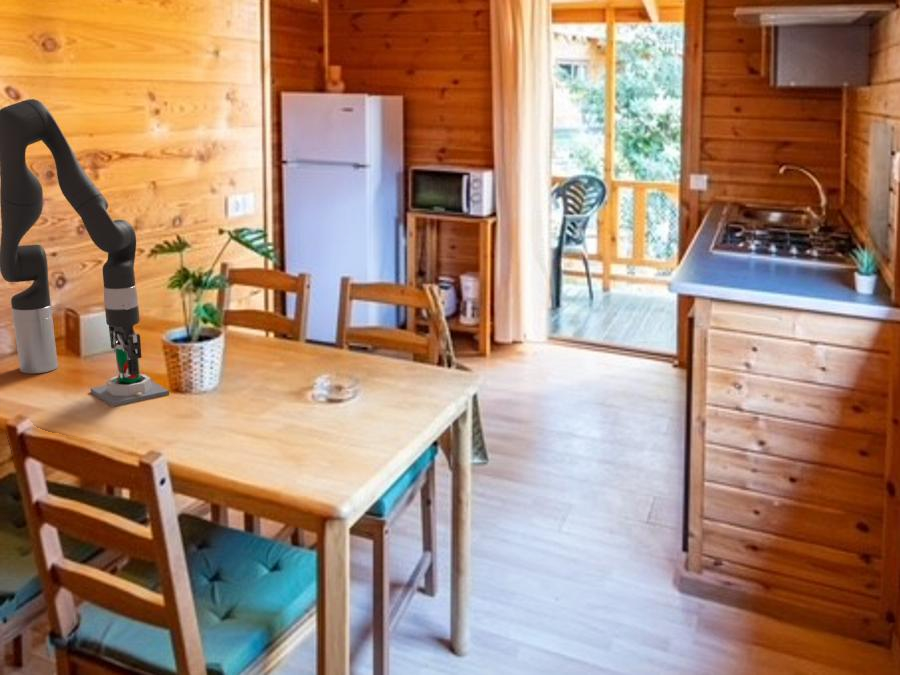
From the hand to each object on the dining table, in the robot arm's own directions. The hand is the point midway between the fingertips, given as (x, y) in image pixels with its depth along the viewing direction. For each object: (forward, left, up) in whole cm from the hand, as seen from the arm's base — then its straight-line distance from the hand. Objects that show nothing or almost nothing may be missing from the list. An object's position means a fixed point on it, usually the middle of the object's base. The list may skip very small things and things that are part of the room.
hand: (127, 370), depth 209 cm
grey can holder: (0, 0, -6) cm, 6 cm away
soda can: (+1, 0, -5) cm, 5 cm away
